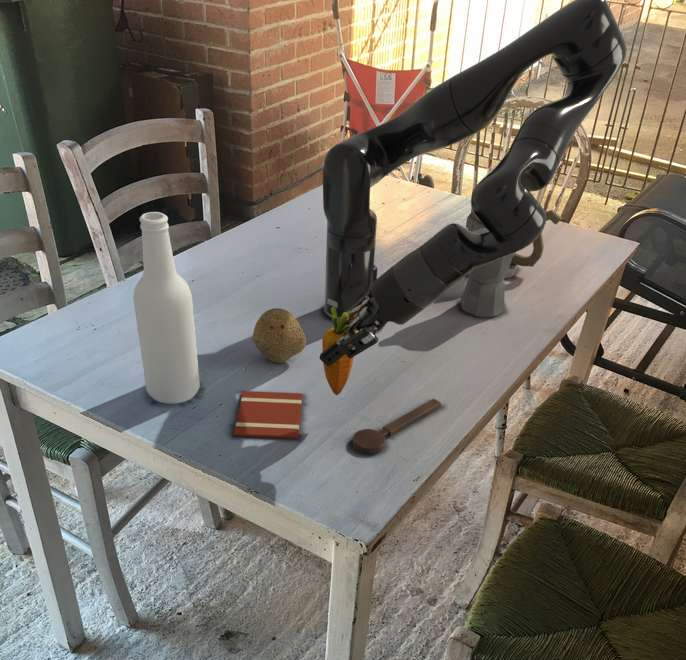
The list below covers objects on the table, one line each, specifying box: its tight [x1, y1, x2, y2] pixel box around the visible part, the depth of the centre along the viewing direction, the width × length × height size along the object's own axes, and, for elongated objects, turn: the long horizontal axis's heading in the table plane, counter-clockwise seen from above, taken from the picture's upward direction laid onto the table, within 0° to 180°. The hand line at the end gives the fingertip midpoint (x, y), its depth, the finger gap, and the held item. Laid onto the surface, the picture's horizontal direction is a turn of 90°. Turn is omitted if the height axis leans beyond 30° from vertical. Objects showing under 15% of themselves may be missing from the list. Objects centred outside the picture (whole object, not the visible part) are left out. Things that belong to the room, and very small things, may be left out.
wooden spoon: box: [352, 398, 442, 455], centre depth 122 cm, size 19×5×1 cm, turn 134°
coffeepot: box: [460, 228, 514, 318], centre depth 150 cm, size 15×9×18 cm, turn 110°
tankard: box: [465, 208, 562, 279], centre depth 165 cm, size 20×13×15 cm, turn 68°
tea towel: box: [233, 390, 303, 440], centre depth 123 cm, size 10×12×1 cm
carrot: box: [321, 307, 355, 396], centre depth 116 cm, size 5×5×15 cm
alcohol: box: [132, 211, 201, 405], centre depth 118 cm, size 9×9×30 cm
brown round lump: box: [252, 307, 307, 364], centre depth 134 cm, size 9×9×10 cm
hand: (326, 351), depth 116 cm, fingers closed on carrot, 5 cm apart
